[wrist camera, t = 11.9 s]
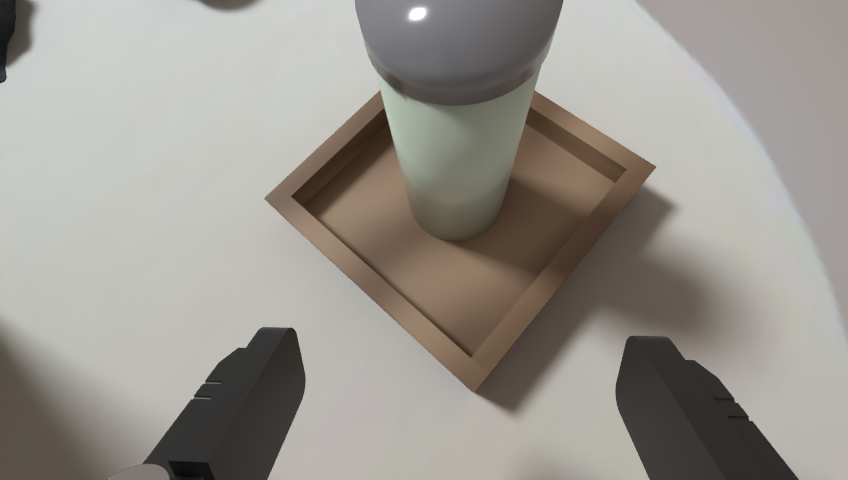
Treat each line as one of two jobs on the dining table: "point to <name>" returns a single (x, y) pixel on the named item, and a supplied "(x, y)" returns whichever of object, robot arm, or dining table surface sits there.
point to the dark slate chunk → (5, 31)
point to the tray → (470, 259)
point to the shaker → (457, 98)
